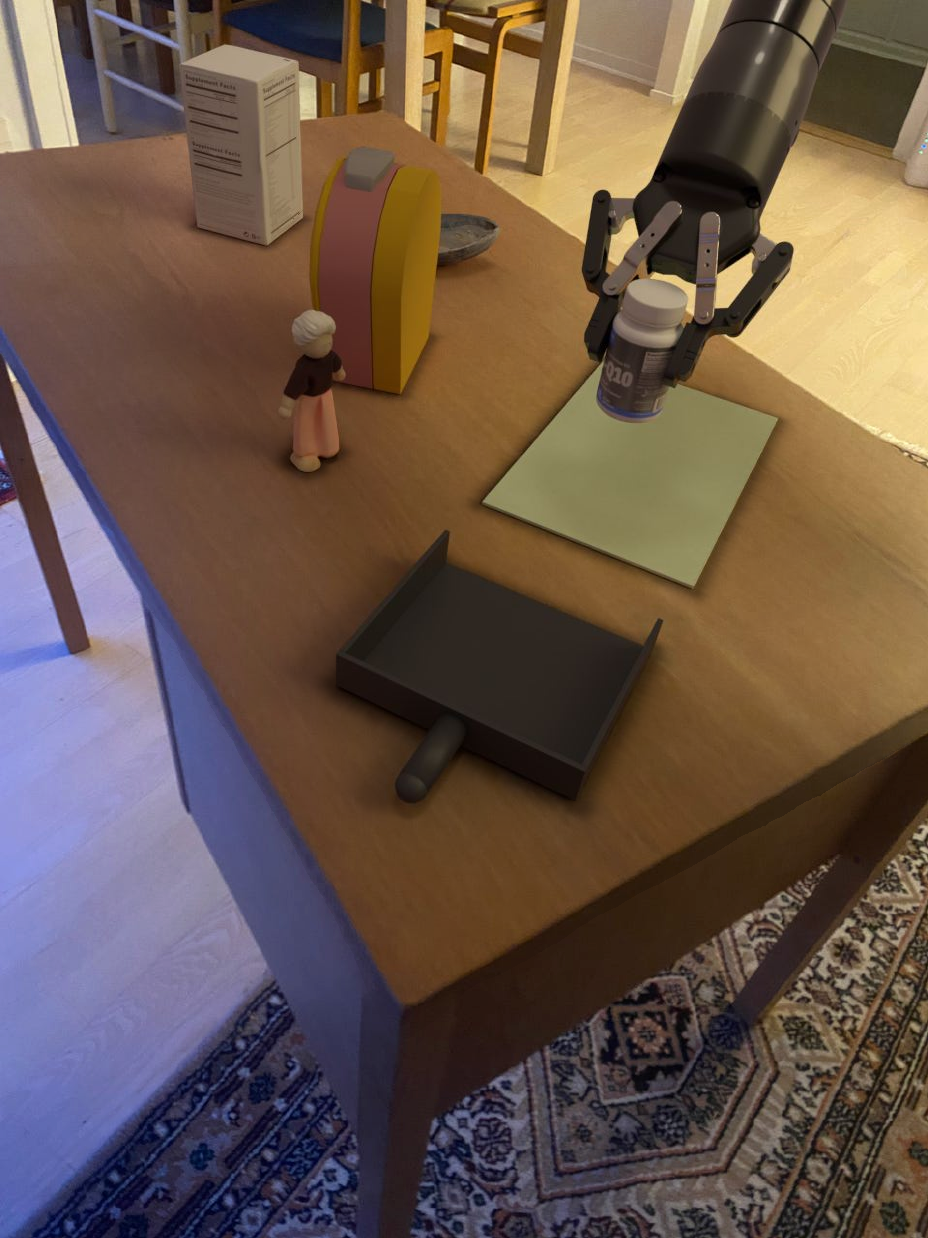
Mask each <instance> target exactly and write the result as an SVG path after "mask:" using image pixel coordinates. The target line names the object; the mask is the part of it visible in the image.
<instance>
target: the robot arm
mask: <svg viewBox="0 0 928 1238" xmlns="http://www.w3.org/2000/svg"><path fill="white" fill-rule="evenodd" d="M847 4H848V0H731V2H730V3H729V6H728V8H727V11H726V13H725V15H724V17H723V20H722V22H721V24H720V26H719V29H718V31H717V34H716V37H715V39H714V40H713V43H712V44H711V46H710V48H709V50H708V52H707V54H706V55H705V57H704V58H703V60H702V62H701V64H700V65H699V67H698V69H697V72H696V73H695V75H694V78H693V80H692V83H691V84H690V86H689V89H688V91H687V94H686V96H685V98H684V101H683V102H682V106H681V108H680V110H679V113H678V115H677V117H676V120H675V122H674V124H673V127H672V129H671V131H670V134H669V136H668V139H667V141H666V143H665V145H664V147H663V150H662V153H661V155H660V157H659V160H658V161H657V164H656V166H655V169H654V171H653V174H652V176H651V179H650V180H649V182H648V183H647V184H646V185H645V187H643V188H642V189H641V190H640V191H638V193H637V194H636V196H634V197H612V195H611V193H610V191H608V190H607V189H599V190H597V191H595V192H594V194H593V196H592V201H591V206H590V213H589V219H588V226H587V233H586V237H585V245H584V251H583V258H582V265H581V274H582V278H583V280H584V284H585V287H586V290H587V291H588V293H591V294H595V295H596V296H597V297H598V300H597V302H596V305H595V307H594V310H593V312H592V315H591V317H590V319H589V322H588V324H587V326H586V328H585V331H584V333H583V342H584V345H585V347H586V350H587V355H588V358H589V360H591V361H594V362H597V363H600V364H601V363H602V362H603V360H604V358H605V355H606V351H607V346H608V342H609V337H610V333H611V328H612V324H613V320H614V318H615V316H616V315H617V313H618V312H620V311H621V310H622V305H623V304H622V303H623V299H624V296H625V292H626V289H627V286H628V285H629V283H631V282H632V281H635V280H638V279H652V277H653V275H655V273H656V274H660V275H663V276H676V277H677V278H679V279H681V280H683V282H686V283H689V284H692V285H695V294H694V295H695V297H694V310H693V311H694V312H693V316H692V318H691V321H690V322H689V321H688V322H687V321H686V323H685V325H684V326H683V327H684V329H683V332H682V334H681V336H680V339H679V341H678V343H677V346H676V348H675V350H674V353H673V355H672V357H671V360H670V362H669V364H668V367H667V369H666V371H665V374H664V384H665V385H666V386H669V387H672V388H676V386H677V384H679V381H680V382H683V383H687V381H688V380H689V379H691V377H692V376H693V373H694V371H695V368H696V366H697V364H698V361H699V359H700V357H701V355H702V354H703V353H702V352H703V350H704V348H705V346H706V344H707V341H708V340H710V339H711V338H712V337H714V336H725V335H726V336H727V337H728V338H732V339H733V338H734V339H735V338H738V337H740V336H741V335H742V334H743V332H744V331H745V330H746V329H747V327H748V326H749V324H750V323H751V322H752V321H753V319H755V316H756V315H757V314H758V313H759V312H760V311H761V309H762V308H763V306H764V305H765V304H766V303H767V302H768V300H769V299H770V297H771V296H772V295H773V294H774V292H775V291H776V290H777V288H779V286H780V284H782V282H783V280H784V279H786V277H787V276H788V274H789V273H790V271H791V267H792V263H793V259H794V252H795V250H794V249H795V248H794V245H793V244H792V243H791V242H789V241H786V240H785V241H780V242H778V243H777V242H775V241H773V240H772V239H770V238H769V237H767V236H765V235H764V234H762V233H761V221H760V220H761V217H762V215H763V212H764V210H765V208H766V206H767V203H768V201H769V198H770V196H771V194H772V191H773V190H774V187H775V185H776V182H777V180H778V178H779V175H780V173H781V171H782V168H783V166H784V164H785V162H786V160H787V157H788V155H789V153H790V150H791V148H792V147H793V146H794V144H795V143H796V140H797V139H798V136H799V134H800V127H801V125H802V123H803V120H804V118H805V115H806V113H807V110H808V107H809V103H810V100H811V97H812V93H813V90H814V87H815V83H816V80H817V78H818V75H819V73H820V71H821V69H822V67H823V64H824V61H825V59H826V58H827V57H826V56H827V55H828V52H829V50H830V48H831V45H832V43H833V42H834V41H833V40H834V38H835V37H836V35H837V32H838V30H839V28H840V26H841V23H842V20H843V18H844V15H845V12H846V8H847V6H848V5H847ZM632 219H633V220H634V224H635V228H636V232H637V236H638V238H637V239H636V240H635V241H634V242H633V243H632V244H631V246H630V247H629V248H628V249H627V250H626V252H625V253H624V255H623V257H622V259H621V261H620V263H618V265H617V266H616V267H615V268H614V270H613V271H612V272H611V273H610V274H609V273H608V272H607V267H608V261H609V256H610V248H611V242H612V237H613V236H612V235H618V234H619V233H621V231H622V230H623V228H624V225H625V223H626V222H627V221H629V220H632ZM750 254H752V255H753V259H752V262H751V274H752V275H751V277H750V278H749V280H748V281H747V282H746V284H745V285H744V286H743V288H741V290H740V291H739V293H738V294H737V295H736V297H735V298H734V299H733V300H732V302H730V304H729V306H728V307H716V303H717V302H716V301H717V287H718V276H719V274H721V273H722V272H724V271H726V269H727V270H728V268H730V267H732V266H733V265H734V264H736V263H737V262H739V261H740V260H742V259H743V258H745V257H746V256H748V255H750Z"/></svg>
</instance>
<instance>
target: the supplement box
mask: <svg viewBox="0 0 928 1238" xmlns="http://www.w3.org/2000/svg"><path fill="white" fill-rule="evenodd" d="M299 63H300V62H299V61H298V60H296V59H292V58H288V57H285V56H284V57H283V56H279V55H274V54H270V53H266V52H261V51H257V50H253V49H249V48H245V47H240V46H236V45H232V44H222V45H220V46H217V47H215V48H213V49H211V50H208V51H206V52H204V53H202V54H199V55H197V56H195V57H192V58H189V59H188V60H185V61H183V62H180V63H179V64H178V71H179V80H180V86H181V97H182V104H183V105H182V106H183V113H184V121H185V131H186V140H187V149H188V157H189V166H190V173H191V174H190V175H191V181H192V182H191V183H192V191H193V200H194V201H193V202H194V208H195V219H196V227H197V228H199V229H202V230H206V231H209V232H213V233H218V234H221V235H225V236H228V237H232V238H237V239H240V240H244V241H247V242H250V243H251V242H252V243H255V244H258V245H262V246H265V247H266V246H269V245H270V244H271V243H272V242H274V241H275V240H276V239H277V238H279V237H281V235H283V234H284V233H285V232H287V231H288V230H289V229H290V228H292V227H293V226H295V225H296V224H297V223H299V222H300V221H302V220H303V219H304V205H303V204H304V201H303V169H302V138H301V136H302V135H301V100H300V98H301V97H300V95H301V94H300V66H299V65H300V64H299ZM302 210H303V211H302ZM300 212H301V213H300ZM299 213H300V214H299ZM298 214H299V215H298ZM293 218H294V219H293ZM207 222H208V223H207ZM211 223H212V224H211ZM214 224H215V225H214Z"/></svg>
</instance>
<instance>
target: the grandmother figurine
mask: <svg viewBox="0 0 928 1238" xmlns="http://www.w3.org/2000/svg"><path fill="white" fill-rule="evenodd" d="M335 329H336V325H335V322H334V320H333V319H332V318H331V317H330V316H328V315H326V314H324V313H323V312H320V311H315V310H314V309H308V310H306V311H304V312H302V313H301V314H300V315H299V316H298V317H296V318H295V319H294V321H293V323H292V325H291V334H292V335H293V341H294V343H295V344H296V345H298V346H299V349H300V351H301V352H302V353H303V354H302V355H301V356H299V358H298V359H297V360H296V361H295V364H294V365H295V366H294V368H293V370H292V372H291V374H290V375H289V378H288V381H287V383H286V385H285V387H284V389H283V395H282V398H281V401H280V403H281V404H280V407H279V408H278V410H277V413H278V416H279V417H280V418H281V419H283V420H287V419H289V418H291V417H292V412H293V408H294V407H295V405H296V402H297V401H298V404H297V408H296V412H295V416H294V421H293V428H292V431H293V437H292V439H293V443H292V444H293V445H292V450H293V452H292V453H291V455H290V458H289V460H290V462H291V463H292V464H293V465H294V466H295V467H296V468H297V470H299V471H301V472H304V473H312V472H315V471H316V470H319V469H320V467H321V461H320V459H319V458H324V459H328V458H329V459H330V458H333V457H334V456H335V455H337V454H338V452H339V451H340V437H339V431H338V422H337V417H336V411H335V410H336V409H335V402H334V396H333V395H334V394H333V391H332V387H333V381H332V374H333V378H334V379H335V380H336V381H342V380H344V378H345V375H346V374H345V371H344V370H343V366H342V361H341V358H340V357H339V356H338V354H337V353H336V352H334V351H332V350H331V348H332V343H333V341H332V334H333V333H334V332H335ZM336 381H335V382H336ZM318 457H319V458H318Z"/></svg>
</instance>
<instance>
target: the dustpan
mask: <svg viewBox="0 0 928 1238" xmlns="http://www.w3.org/2000/svg"><path fill="white" fill-rule="evenodd" d="M450 534H451V531H450V530H448V529H444V530H443V532H442V533H441V534H440V535H439V536H438V537H437V538H436V539H435V541H434V542H433V543H432V544H431V545H430V546H429V547H428V549H427V550H425V552H424V553H423V554H422V556H420V557H419V559H418V560H417V561H416V562H415V563H414V564H413V566H412V567H411V568H410V569H409V570H408V571H407V572H406V574H404V576H403V577H402V578H401V579H400V580H399V582H398V583H396V585H395V586H394V587H393V588H392V589H391V590H390V592H389V593H388V594H387V595H386V597H385V598H383V600H382V601H381V602H380V603H379V605H378V606H377V607H376V608H375V609H374V610H373V611H372V612H371V613H370V615H368V617H367V618H366V619H365V620H364V621H363V623H362V624H361V625H360V626H359V627H358V628H357V629H356V631H354V633H353V634H352V635H351V636H350V637H349V638H348V640H347V641H346V642H345V643H344V644H343V645H342V646H341V648H340V649H339V650H338V651H337V652H336V654H335V686H337V687H340V688H342V689H344V690H346V691H348V692H349V693H352V694H354V695H357V697H360V698H362V699H364V700H366V701H368V702H370V703H372V704H374V705H377V706H378V707H381V708H383V709H386V710H387V711H388V712H391V713H393V714H395V715H398V716H399V717H401V718H403V719H405V720H407V721H409V722H412V723H413V724H416V725H418V726H420V727H422V728H424V729H426V730H427V731H428V732H427V733H426V735H425V736H424V738H423V739H422V740H421V742H420V744H419V745H418V746H417V747H416V749H415V750H414V751H413V753H412V754H411V756H410V758H409V759H408V760H407V762H406V763H405V764H404V766H403V768H402V769H401V770H400V772H399V773H398V774H397V777H396V778H395V781H394V791H395V793H396V796H397V798H399V799H400V800H401V801H402V802H404V803H406V804H412V805H413V804H417V803H420V802H422V801H423V800H424V799H425V798H426V797H427V796H428V795H429V793H430V792H431V790H432V789H433V787H434V786H435V784H436V782H437V781H438V780H439V778H440V776H441V775H442V774H443V772H444V771H445V769H446V768H447V766H448V764H449V763H450V761H451V760H452V759H453V757H454V756H455V754H456V752H457V751H458V750H459V748H460V747H463V748H465V749H468V750H470V751H472V752H474V753H475V754H478V755H480V756H482V757H484V758H486V759H488V760H490V761H492V762H494V763H496V764H499V765H500V766H503V767H505V768H507V769H508V770H511V771H513V772H515V773H517V774H519V775H521V776H523V777H525V778H528V779H529V780H532V781H534V782H536V783H538V784H540V785H542V786H544V787H546V788H548V789H550V790H553V791H555V792H556V793H559V794H560V795H563V796H565V797H567V798H569V799H570V800H573V801H576V800H577V799H578V798H579V796H580V794H581V792H582V790H583V788H584V786H585V784H586V782H587V780H588V778H589V776H590V774H591V772H592V770H593V768H594V767H595V764H596V763H597V760H598V758H599V756H600V754H601V753H602V751H603V749H604V747H605V745H606V743H607V742H608V739H609V737H610V735H611V733H612V732H613V729H614V727H615V725H616V724H617V722H618V720H619V718H620V715H621V714H622V712H623V710H624V708H625V706H626V704H627V702H628V700H629V698H630V696H631V695H632V692H633V691H634V688H635V686H636V684H637V682H638V680H639V678H640V677H641V675H642V672H643V671H644V669H645V667H646V665H647V663H648V661H649V659H650V657H651V655H652V653H653V651H654V648H655V645H656V642H657V639H658V638H659V634H660V631H661V630H662V626H663V623H664V621H665V620H664V619H663V618H660V617H657V619H656V621H655V623H654V625H653V627H652V629H651V631H650V633H649V634H648V636H647V638H646V640H645V642H644V644H640V643H637V642H636V641H633V640H630V639H628V638H626V637H623V636H621V635H618V634H616V633H614V632H611V631H609V630H607V629H605V628H602V627H600V626H598V625H595V624H592V623H591V622H588V621H586V620H584V619H581V618H579V617H577V616H575V615H572V614H570V613H567V612H565V611H562V610H560V609H558V608H555V607H554V606H551V605H548V604H546V603H544V602H541V601H539V600H537V599H534V598H532V597H529V596H527V595H525V594H522V593H520V592H518V591H515V590H513V589H510V588H508V587H506V586H503V585H501V584H499V583H497V582H495V581H492V580H490V579H488V578H485V577H482V576H480V575H478V574H475V573H473V572H471V571H468V570H466V569H464V568H461V567H459V566H457V565H454V564H452V563H450V562H448V561H447V560H448V551H449V543H450Z"/></svg>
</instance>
